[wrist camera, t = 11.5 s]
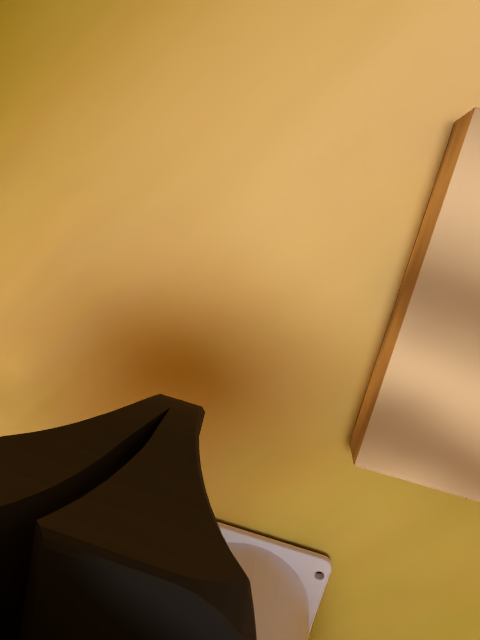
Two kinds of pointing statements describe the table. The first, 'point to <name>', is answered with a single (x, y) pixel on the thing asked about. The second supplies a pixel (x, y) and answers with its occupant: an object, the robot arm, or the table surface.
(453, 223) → the board
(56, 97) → the table surface
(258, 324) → the table surface
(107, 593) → the robot arm
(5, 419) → the table surface
